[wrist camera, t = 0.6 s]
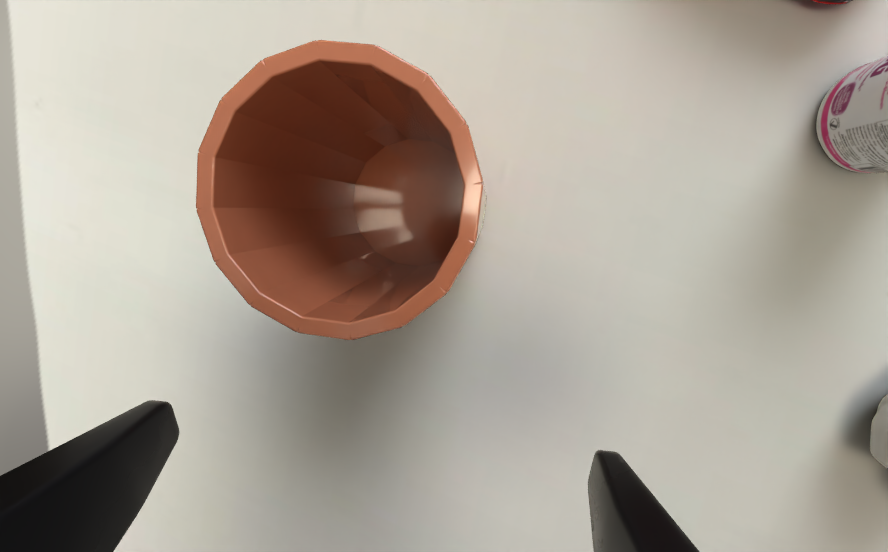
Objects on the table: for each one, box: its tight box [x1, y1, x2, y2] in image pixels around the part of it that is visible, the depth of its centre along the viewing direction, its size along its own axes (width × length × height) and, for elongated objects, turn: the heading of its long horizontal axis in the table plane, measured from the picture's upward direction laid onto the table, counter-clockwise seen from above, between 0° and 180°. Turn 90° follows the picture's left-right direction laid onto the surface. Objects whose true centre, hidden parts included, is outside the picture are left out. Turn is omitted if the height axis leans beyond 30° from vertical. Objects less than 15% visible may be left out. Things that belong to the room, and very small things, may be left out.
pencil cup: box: [196, 40, 486, 340], centre depth 17 cm, size 7×7×12 cm
